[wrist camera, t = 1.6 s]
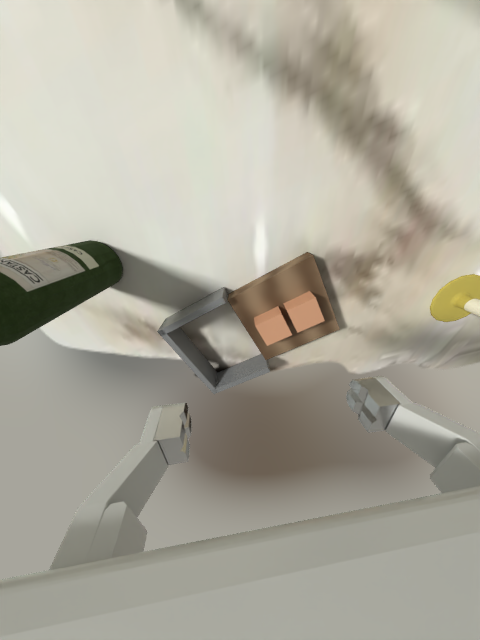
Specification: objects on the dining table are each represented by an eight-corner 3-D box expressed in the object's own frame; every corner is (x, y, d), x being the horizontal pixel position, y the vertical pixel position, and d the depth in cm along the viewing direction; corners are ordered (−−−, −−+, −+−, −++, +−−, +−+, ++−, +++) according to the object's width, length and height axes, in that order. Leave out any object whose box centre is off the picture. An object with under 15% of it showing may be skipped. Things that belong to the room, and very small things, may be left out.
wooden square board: (307, 252, 34) (313, 255, 31) (333, 321, 40) (339, 329, 38) (228, 293, 37) (227, 300, 35) (264, 351, 44) (265, 360, 42)
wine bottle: (115, 239, 33) (-394, 354, 6) (129, 284, 36) (-153, 472, 10) (68, 240, 33) (-633, 357, 6) (87, 285, 36) (-302, 473, 10)
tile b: (278, 305, 35) (281, 313, 33) (288, 326, 37) (292, 335, 35) (253, 317, 36) (255, 325, 34) (265, 336, 39) (267, 345, 36)
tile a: (309, 290, 34) (315, 297, 31) (318, 313, 36) (324, 320, 33) (283, 303, 35) (286, 310, 32) (293, 324, 37) (297, 332, 35)
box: (224, 287, 37) (222, 297, 32) (267, 356, 45) (270, 371, 41) (166, 318, 40) (157, 331, 36) (216, 377, 48) (213, 394, 44)
